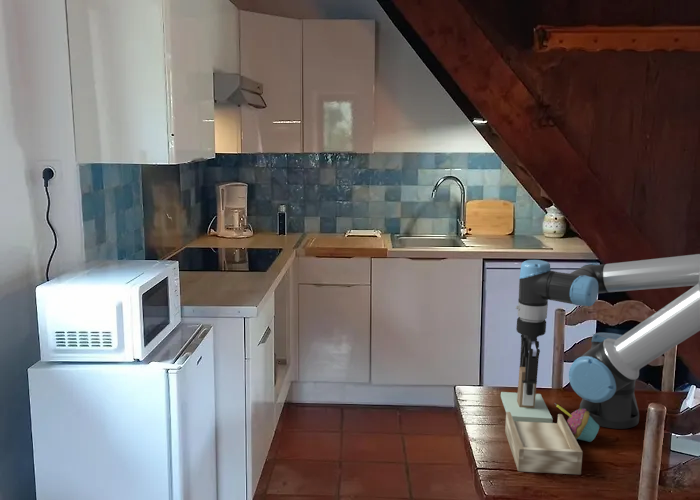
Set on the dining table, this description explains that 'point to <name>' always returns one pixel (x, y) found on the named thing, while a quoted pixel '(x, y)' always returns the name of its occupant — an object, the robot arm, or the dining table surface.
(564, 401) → the dining table surface
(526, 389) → the robot arm
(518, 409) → the cover plate
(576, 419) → the cupcake
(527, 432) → the birch box
